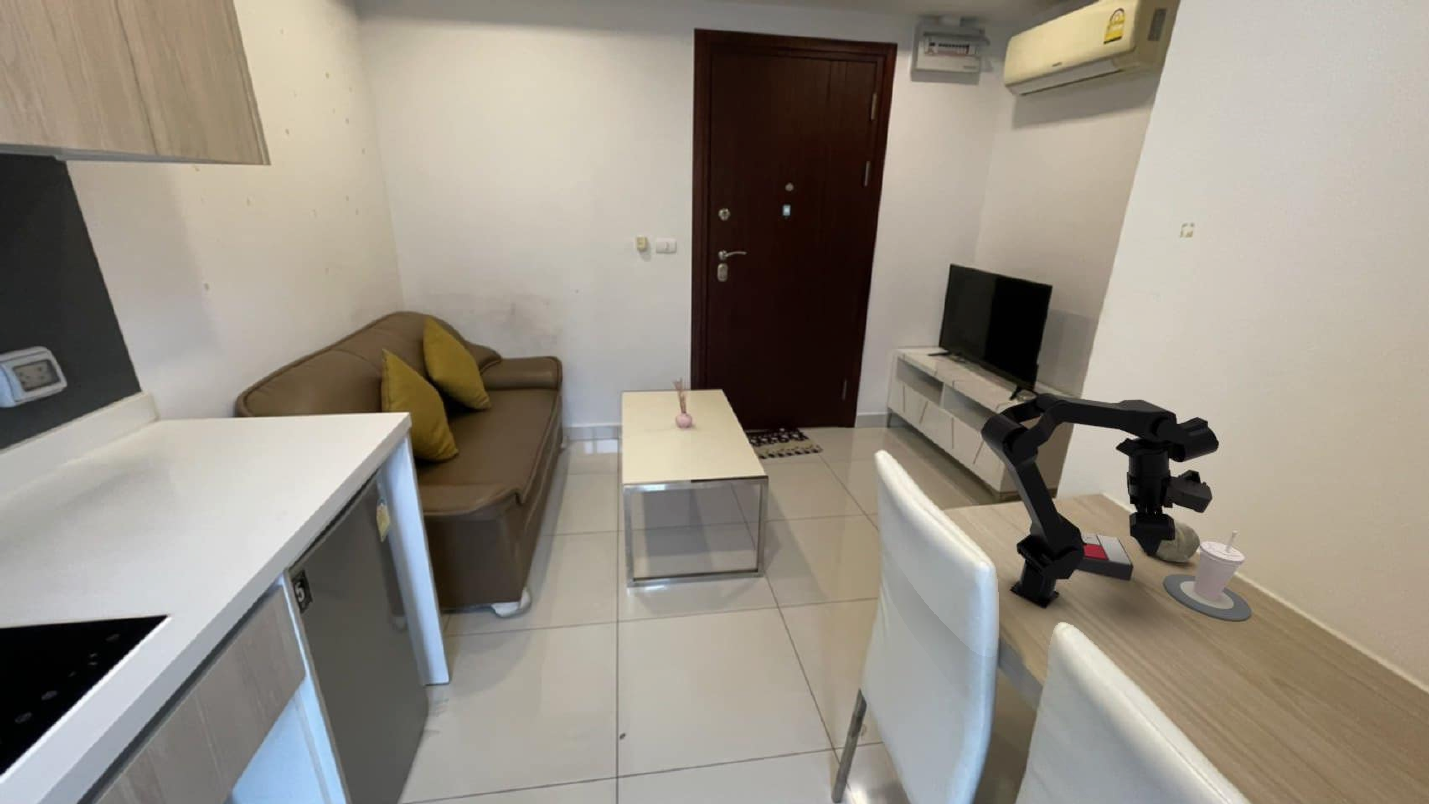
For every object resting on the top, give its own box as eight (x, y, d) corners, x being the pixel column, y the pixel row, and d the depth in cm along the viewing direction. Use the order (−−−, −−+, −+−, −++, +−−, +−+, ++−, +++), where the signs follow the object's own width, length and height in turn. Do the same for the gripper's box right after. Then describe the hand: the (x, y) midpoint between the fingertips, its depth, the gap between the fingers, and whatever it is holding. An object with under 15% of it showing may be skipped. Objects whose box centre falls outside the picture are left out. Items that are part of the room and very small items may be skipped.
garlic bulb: (1185, 574, 120) (1220, 545, 114) (1149, 567, 119) (1182, 538, 113) (1160, 539, 127) (1191, 509, 121) (1125, 532, 127) (1155, 502, 121)
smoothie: (1225, 609, 105) (1253, 544, 100) (1182, 593, 109) (1206, 529, 104) (1228, 594, 109) (1254, 531, 104) (1186, 578, 113) (1209, 517, 108)
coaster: (1241, 631, 100) (1243, 628, 100) (1154, 592, 110) (1155, 589, 109) (1256, 602, 108) (1258, 599, 108) (1173, 568, 118) (1174, 565, 117)
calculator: (1040, 522, 126) (1119, 535, 121) (1036, 539, 128) (1114, 552, 123) (1049, 549, 116) (1135, 563, 112) (1045, 567, 118) (1130, 582, 113)
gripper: (1216, 502, 89) (1213, 580, 95) (1201, 443, 103) (1199, 514, 108) (1129, 497, 96) (1131, 571, 101) (1125, 442, 109) (1127, 509, 115)
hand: (1149, 540), depth 106 cm, fingers open, 9 cm apart
